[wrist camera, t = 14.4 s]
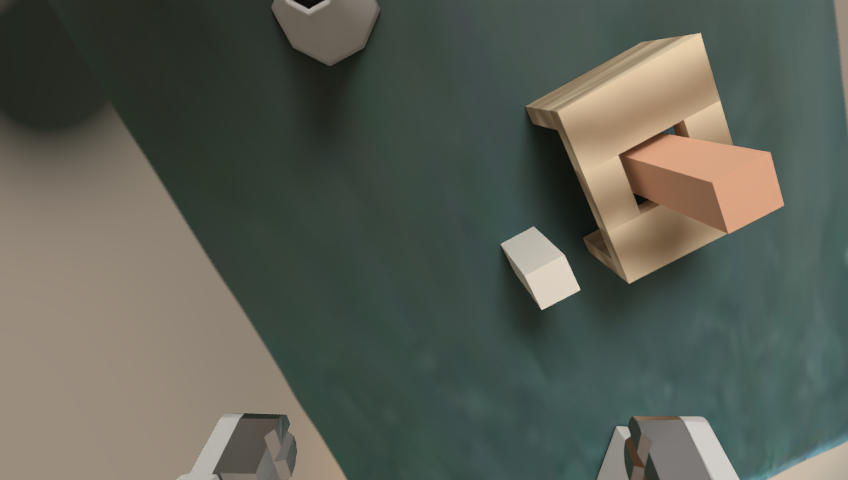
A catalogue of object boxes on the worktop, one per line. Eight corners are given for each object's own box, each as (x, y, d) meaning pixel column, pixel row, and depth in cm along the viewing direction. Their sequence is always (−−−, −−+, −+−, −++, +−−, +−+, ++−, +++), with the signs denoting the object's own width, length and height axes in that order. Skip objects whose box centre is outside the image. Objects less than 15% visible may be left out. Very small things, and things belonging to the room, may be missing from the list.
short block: (500, 244, 40) (524, 275, 34) (533, 226, 40) (564, 254, 33) (515, 273, 41) (541, 310, 35) (548, 256, 41) (580, 290, 35)
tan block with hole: (525, 106, 37) (557, 111, 30) (641, 42, 36) (700, 33, 29) (588, 251, 41) (629, 283, 35) (693, 197, 41) (754, 219, 34)
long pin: (588, 145, 38) (712, 182, 24) (624, 126, 38) (770, 152, 24) (602, 179, 39) (728, 234, 25) (637, 160, 39) (784, 205, 25)
